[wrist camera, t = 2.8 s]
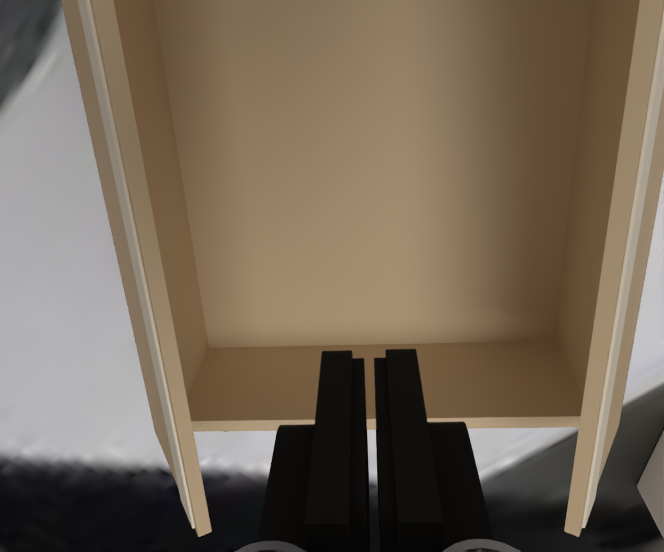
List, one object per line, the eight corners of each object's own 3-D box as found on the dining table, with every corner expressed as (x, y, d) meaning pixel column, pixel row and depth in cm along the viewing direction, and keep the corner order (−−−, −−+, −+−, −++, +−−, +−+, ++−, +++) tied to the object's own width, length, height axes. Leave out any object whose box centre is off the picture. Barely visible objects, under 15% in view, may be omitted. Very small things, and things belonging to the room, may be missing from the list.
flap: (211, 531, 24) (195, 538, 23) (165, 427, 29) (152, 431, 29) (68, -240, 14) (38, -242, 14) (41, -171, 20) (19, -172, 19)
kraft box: (119, -150, 26) (40, -189, 20) (624, -188, 25) (713, -242, 18) (202, 351, 36) (167, 431, 30) (561, 344, 35) (604, 426, 29)
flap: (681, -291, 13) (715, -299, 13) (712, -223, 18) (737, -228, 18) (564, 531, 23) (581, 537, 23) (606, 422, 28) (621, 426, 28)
